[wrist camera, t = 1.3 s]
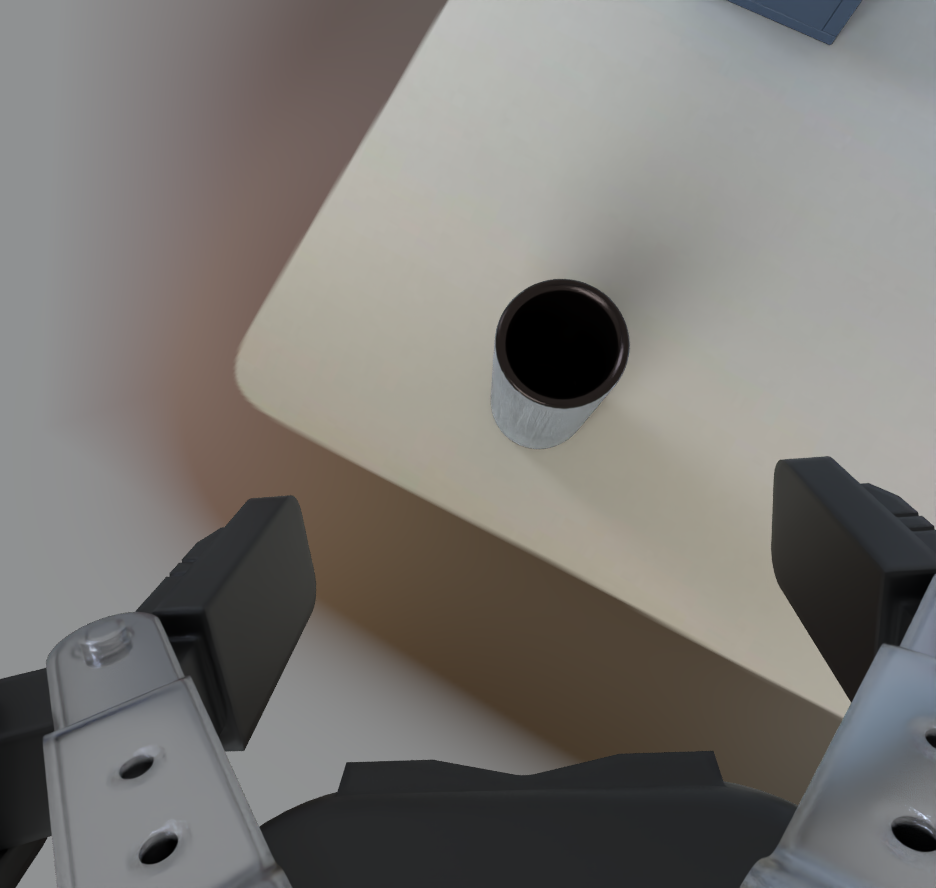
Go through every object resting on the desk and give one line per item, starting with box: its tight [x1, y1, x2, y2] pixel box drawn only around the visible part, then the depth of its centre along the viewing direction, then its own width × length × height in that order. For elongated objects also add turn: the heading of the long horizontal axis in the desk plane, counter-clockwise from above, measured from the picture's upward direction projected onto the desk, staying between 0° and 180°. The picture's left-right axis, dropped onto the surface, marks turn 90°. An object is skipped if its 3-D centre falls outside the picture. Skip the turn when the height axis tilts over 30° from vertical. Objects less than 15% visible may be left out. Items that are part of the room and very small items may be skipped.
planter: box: [491, 279, 630, 449], centre depth 29 cm, size 4×4×10 cm
